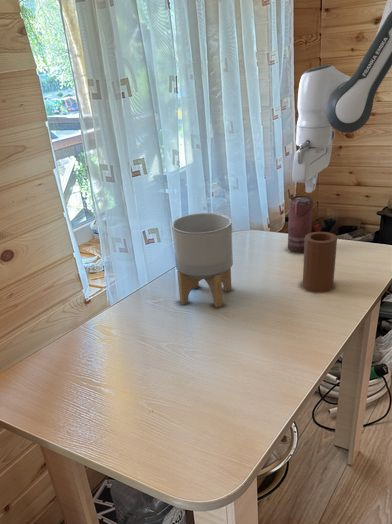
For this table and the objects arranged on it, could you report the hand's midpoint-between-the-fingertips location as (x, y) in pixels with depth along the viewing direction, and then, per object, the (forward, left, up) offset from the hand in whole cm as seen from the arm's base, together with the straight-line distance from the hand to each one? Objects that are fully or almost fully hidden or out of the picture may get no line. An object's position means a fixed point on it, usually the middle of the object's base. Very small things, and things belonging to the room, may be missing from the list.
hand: (310, 191), depth 140 cm
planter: (+10, +43, -14) cm, 46 cm away
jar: (-12, +28, -14) cm, 33 cm away
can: (0, +8, -14) cm, 16 cm away
